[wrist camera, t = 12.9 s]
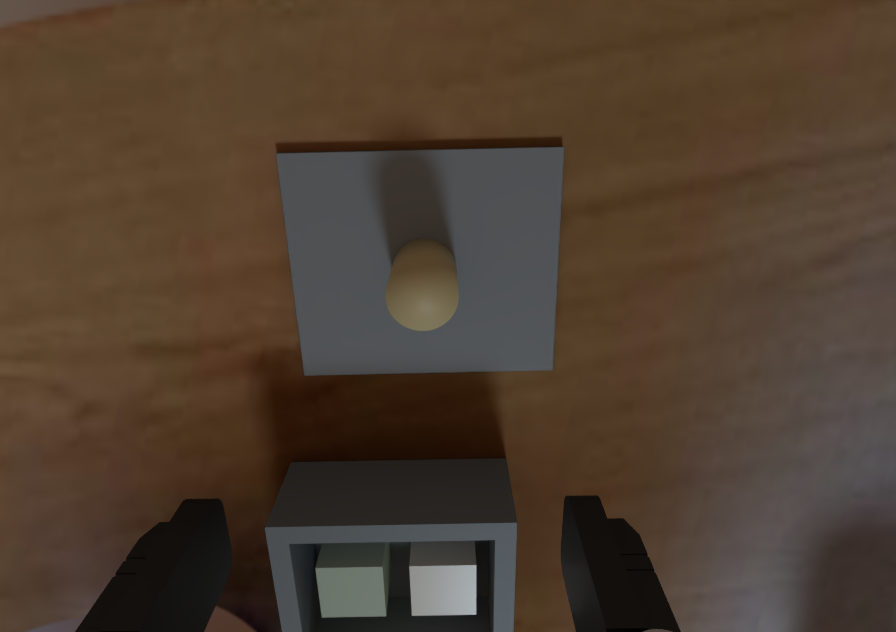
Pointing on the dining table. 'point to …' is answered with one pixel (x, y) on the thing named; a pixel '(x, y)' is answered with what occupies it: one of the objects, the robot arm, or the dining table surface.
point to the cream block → (443, 578)
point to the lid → (424, 258)
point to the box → (394, 536)
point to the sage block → (354, 579)
